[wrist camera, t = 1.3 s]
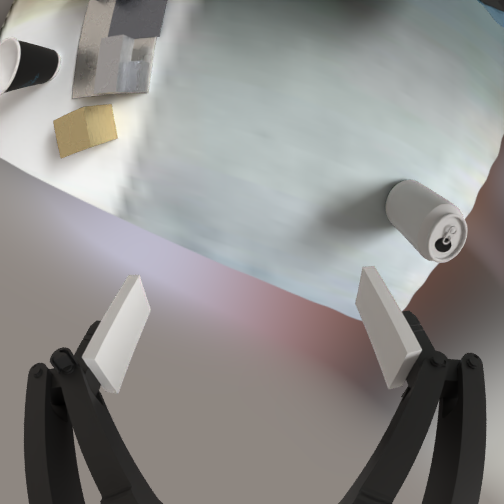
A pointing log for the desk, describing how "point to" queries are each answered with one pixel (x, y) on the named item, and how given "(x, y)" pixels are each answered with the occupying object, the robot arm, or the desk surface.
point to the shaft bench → (93, 46)
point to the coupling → (84, 129)
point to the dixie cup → (25, 64)
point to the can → (427, 220)
